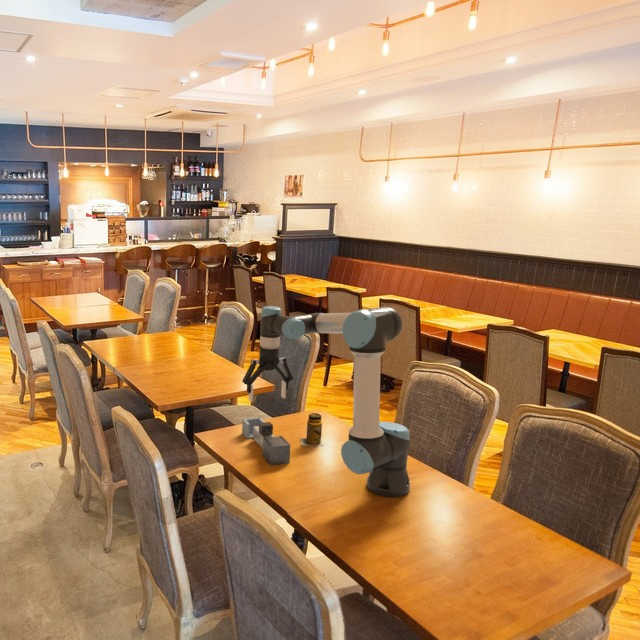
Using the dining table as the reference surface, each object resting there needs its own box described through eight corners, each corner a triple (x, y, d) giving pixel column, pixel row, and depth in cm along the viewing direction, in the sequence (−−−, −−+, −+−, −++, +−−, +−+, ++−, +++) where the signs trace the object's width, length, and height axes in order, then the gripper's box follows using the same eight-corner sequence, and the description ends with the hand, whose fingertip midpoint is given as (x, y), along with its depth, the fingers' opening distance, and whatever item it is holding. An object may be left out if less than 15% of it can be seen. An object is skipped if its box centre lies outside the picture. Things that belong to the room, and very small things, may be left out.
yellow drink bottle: (322, 446, 241) (324, 418, 239) (302, 446, 240) (303, 418, 238) (320, 438, 248) (322, 411, 246) (300, 438, 247) (301, 411, 245)
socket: (264, 436, 247) (265, 422, 246) (246, 439, 243) (247, 424, 242) (259, 431, 252) (259, 417, 251) (242, 433, 249) (242, 419, 247)
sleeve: (289, 463, 224) (290, 444, 222) (271, 465, 221) (271, 447, 219) (280, 453, 232) (281, 435, 230) (262, 456, 228) (263, 438, 227)
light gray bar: (284, 458, 225) (285, 436, 223) (273, 460, 223) (274, 438, 221) (263, 436, 244) (264, 416, 242) (252, 438, 242) (253, 417, 240)
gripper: (295, 342, 237) (292, 393, 241) (235, 345, 225) (233, 398, 230) (303, 347, 230) (300, 399, 234) (241, 350, 219) (239, 405, 223)
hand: (267, 399), depth 232 cm, fingers open, 13 cm apart
